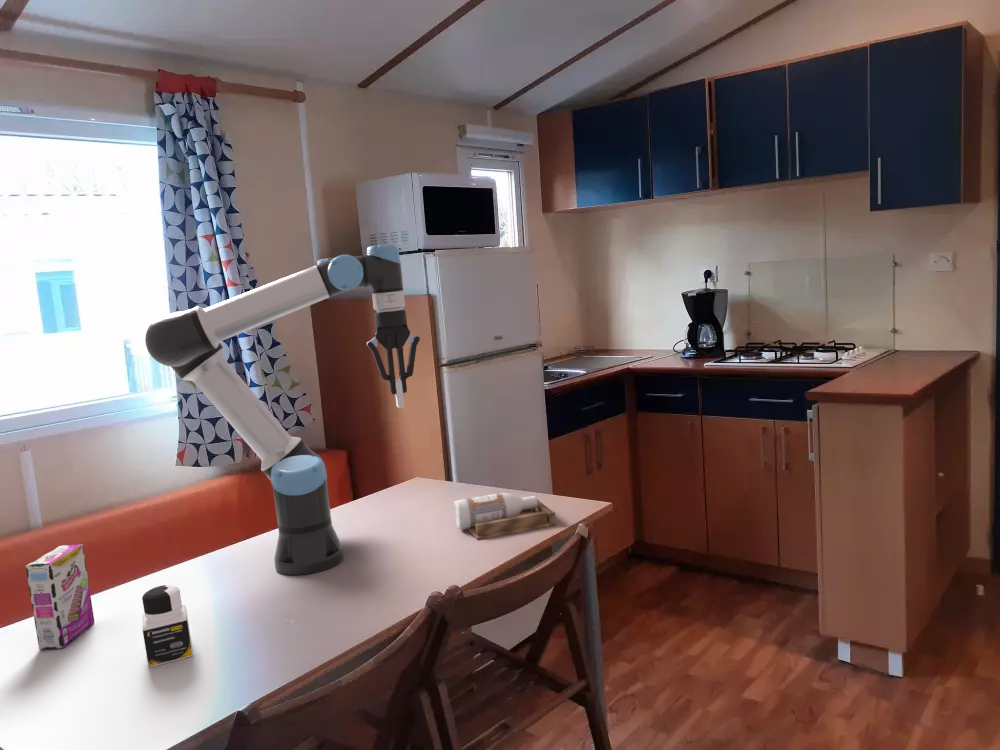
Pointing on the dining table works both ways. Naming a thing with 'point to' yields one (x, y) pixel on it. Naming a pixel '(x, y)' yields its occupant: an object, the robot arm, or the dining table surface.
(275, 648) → the dining table surface
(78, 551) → the candy bar box
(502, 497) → the bath foam
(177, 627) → the medicine bottle
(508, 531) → the wooden tray
